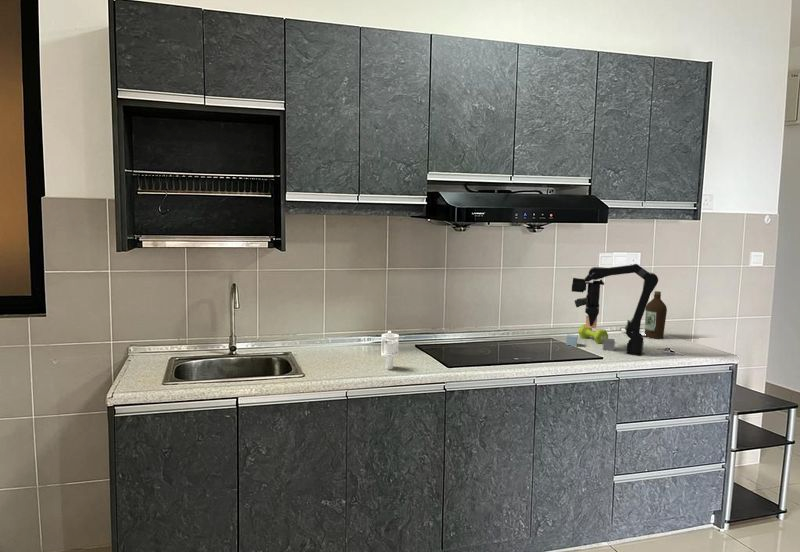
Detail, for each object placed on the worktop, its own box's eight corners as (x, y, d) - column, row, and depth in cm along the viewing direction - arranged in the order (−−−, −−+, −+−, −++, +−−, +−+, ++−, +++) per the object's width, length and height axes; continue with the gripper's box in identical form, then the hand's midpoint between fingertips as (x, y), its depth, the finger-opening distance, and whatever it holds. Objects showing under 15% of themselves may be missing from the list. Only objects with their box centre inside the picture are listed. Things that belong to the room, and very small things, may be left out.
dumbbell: (609, 343, 305) (610, 330, 304) (596, 344, 302) (597, 330, 301) (588, 336, 320) (589, 323, 319) (576, 337, 317) (577, 324, 316)
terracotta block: (596, 326, 292) (597, 316, 291) (596, 328, 287) (597, 318, 287) (585, 325, 294) (586, 315, 293) (585, 327, 289) (586, 317, 288)
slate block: (576, 344, 300) (577, 335, 300) (576, 347, 295) (577, 337, 295) (566, 343, 302) (567, 334, 301) (566, 345, 297) (566, 336, 296)
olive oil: (652, 334, 331) (656, 289, 328) (668, 338, 321) (672, 292, 318) (638, 335, 326) (642, 290, 323) (654, 340, 316) (658, 293, 313)
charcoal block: (613, 349, 294) (614, 339, 293) (613, 351, 289) (614, 341, 288) (602, 348, 295) (603, 338, 295) (602, 350, 290) (603, 340, 290)
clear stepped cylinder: (396, 365, 251) (397, 330, 249) (398, 370, 244) (400, 334, 242) (379, 365, 250) (380, 330, 248) (381, 370, 243) (382, 334, 241)
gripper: (576, 289, 300) (574, 320, 302) (575, 294, 282) (573, 326, 284) (600, 291, 296) (598, 322, 298) (600, 296, 279) (597, 329, 281)
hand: (591, 324), depth 290 cm, fingers closed on terracotta block, 5 cm apart
